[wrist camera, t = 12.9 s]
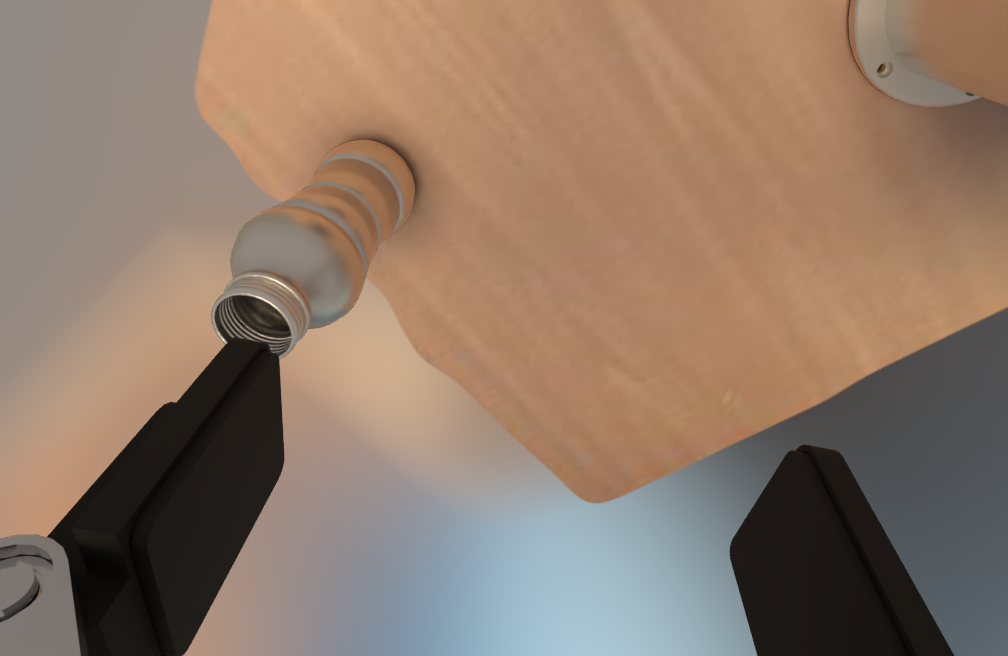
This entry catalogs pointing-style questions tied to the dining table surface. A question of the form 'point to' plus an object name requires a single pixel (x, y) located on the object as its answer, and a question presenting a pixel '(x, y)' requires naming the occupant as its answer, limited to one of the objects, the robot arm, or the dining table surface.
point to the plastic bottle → (314, 247)
